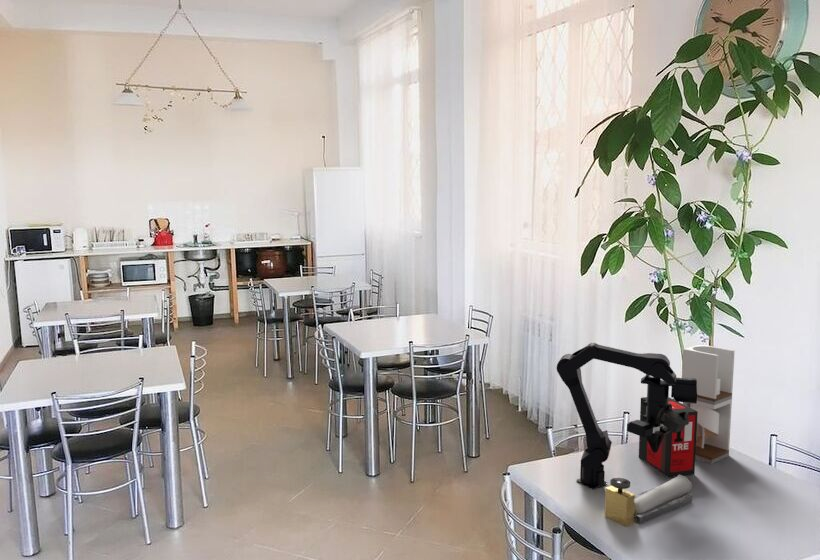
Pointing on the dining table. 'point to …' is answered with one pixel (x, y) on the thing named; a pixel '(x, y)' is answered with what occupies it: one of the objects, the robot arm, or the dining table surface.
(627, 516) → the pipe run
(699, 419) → the display case
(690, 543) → the dining table surface
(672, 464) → the cleaning product box
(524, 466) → the dining table surface
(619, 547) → the dining table surface
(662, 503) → the tube
